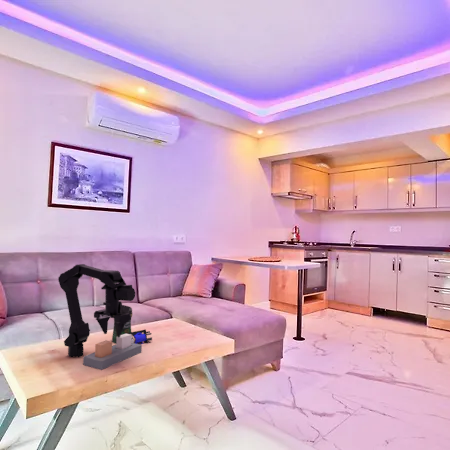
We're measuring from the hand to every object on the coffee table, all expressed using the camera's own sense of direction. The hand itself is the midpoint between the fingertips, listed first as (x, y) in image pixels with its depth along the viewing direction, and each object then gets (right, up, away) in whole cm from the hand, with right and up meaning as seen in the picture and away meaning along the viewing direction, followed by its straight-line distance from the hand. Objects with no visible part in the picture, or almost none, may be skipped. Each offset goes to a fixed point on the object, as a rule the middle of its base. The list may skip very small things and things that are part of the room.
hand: (112, 335), depth 147 cm
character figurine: (+5, -14, +25) cm, 29 cm away
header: (-1, -13, +4) cm, 13 cm away
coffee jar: (-4, -14, +28) cm, 32 cm away
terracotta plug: (-3, -11, -1) cm, 12 cm away
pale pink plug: (+2, -12, +9) cm, 15 cm away
